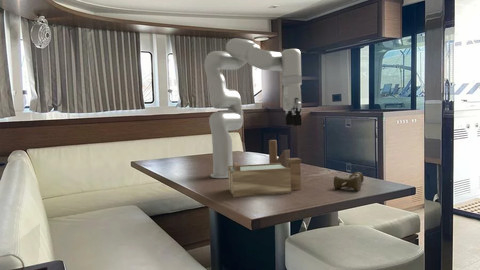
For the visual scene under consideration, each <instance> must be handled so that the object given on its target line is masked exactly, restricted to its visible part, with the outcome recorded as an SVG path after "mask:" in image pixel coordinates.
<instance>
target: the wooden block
mask: <svg viewBox="0 0 480 270" xmlns="http://www.w3.org/2000/svg"><path fill="white" fill-rule="evenodd" d="M277 143H278V142H277V140H276V139H270V140H268V157H269V163H268V164H271V163H281V165H282V166H284V167H285V168H288V162H287V161H286V159H287V158H291V150H290V149H285V150H283V151H282V153H281V154H280V155H279V156H278V144H277Z"/></svg>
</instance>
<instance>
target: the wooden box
mask: <svg viewBox="0 0 480 270" xmlns="http://www.w3.org/2000/svg"><path fill="white" fill-rule="evenodd" d="M239 165H240V164H239ZM264 165H281V163H271V164H269V163H259V164H257V163H256V164H243V165H242V164H241V165H240V167H247V166H264ZM230 167H233V166H228V176H229V178H228V190H229V192H230V194H231V195H232V197H233V198H241V197H243V198H244V197H256V196H268V195H269V196H271V195H282V194H283V195H284V194H292V190H291V171H290V168H277V169H261V170H245V171H231V170H230Z"/></svg>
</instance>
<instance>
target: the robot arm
mask: <svg viewBox="0 0 480 270" xmlns="http://www.w3.org/2000/svg"><path fill="white" fill-rule="evenodd" d="M225 49H226V51H224V50H213V51H210V52H209V53H207V54H206V57H205V60H204V72H205V75H206V79H207V84H208V95H209V101H210V102H209V103H210V105H211V107H212V108H214V109H215V110H216V109H218V110H220V111H216V112H213V113H212V114H211V115H210V116H209V120H208V122H209V128H210V131H211V144H212V165H213V167H212V168H213V169H212V170H213V173H211V174H210V178H212V179H229V176H228V166H233V163H234V162H233V158H234V157H233V139H232V136H231V134H230V132H229V131H237V130H240V129H241V128H242V126H243V125H244V115H243V106H242V104H243V103H242V98H241V95H240V93H239V91H237V90H235V89H234V88H233V89H231V88H230V89H229V88H228V87H227V82H226V78H225V76H224V74H223V73H222V71H221V70H224V71H226V70H227V71H237V70H239V69H240V68H241V67H243V66H244V65H246V64H248V65H249V66H252V67H254V68H257V69H259V70H262V71H271V72H272V71H275V72H281V78H282V79H281V81H282V82H281V83H282V84H281V85H282V86H283V90H282V91H283V93H282V99H283V100H282V109H283V111H285V113H284V114H285V125H286V126H294V127H299V126H302V89H301V86H302V84H303V81H302V77H303V76H302V54H301V51H300V49H298V48H289V49H283V50H282V51H274V50H273V51H272V50H265V49H261V47H260V45H258V43H255V42H254V41H252V40H250V39H246V38H239V37H238V38H237V37H234V38H231V39H229V40H228V42H226V46H225ZM221 109H222V111H221ZM223 109H225V110H223ZM226 109H227V110H226Z"/></svg>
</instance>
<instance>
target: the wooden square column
mask: <svg viewBox="0 0 480 270" xmlns="http://www.w3.org/2000/svg"><path fill="white" fill-rule="evenodd" d="M286 161H287V162H288V168H290V171H291V191H297V190H298V191H299V190H302V184H301V183H302V182H301V180H302V179H301V178H302V177H301V163H302V159H301V158H299V157H290V158H287V159H286Z"/></svg>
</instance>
